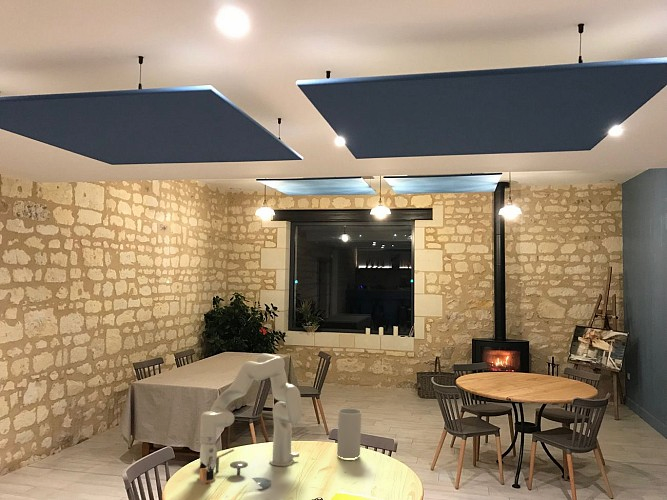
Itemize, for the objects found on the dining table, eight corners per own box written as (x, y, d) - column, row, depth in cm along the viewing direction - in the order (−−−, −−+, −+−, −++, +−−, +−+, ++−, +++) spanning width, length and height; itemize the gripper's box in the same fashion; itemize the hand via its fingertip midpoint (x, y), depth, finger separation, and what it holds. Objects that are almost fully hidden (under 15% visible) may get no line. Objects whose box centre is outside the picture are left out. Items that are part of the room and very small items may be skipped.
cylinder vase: (362, 460, 285) (363, 413, 287) (339, 461, 283) (341, 414, 284) (356, 453, 298) (357, 408, 299) (334, 453, 295) (336, 408, 296)
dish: (264, 478, 256) (264, 475, 256) (274, 487, 246) (275, 484, 246) (241, 482, 250) (241, 480, 250) (250, 492, 240) (251, 489, 240)
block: (209, 477, 251) (210, 467, 251) (213, 481, 246) (213, 470, 247) (199, 479, 248) (199, 468, 248) (202, 483, 244) (203, 472, 244)
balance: (239, 469, 266) (239, 446, 267) (249, 479, 254) (250, 455, 255) (190, 477, 254) (191, 454, 254) (199, 488, 241) (201, 463, 242)
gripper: (222, 443, 243) (220, 481, 242) (209, 433, 258) (208, 468, 257) (206, 445, 239) (204, 484, 238) (194, 435, 254) (193, 471, 253)
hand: (206, 476), depth 247 cm, fingers open, 9 cm apart
